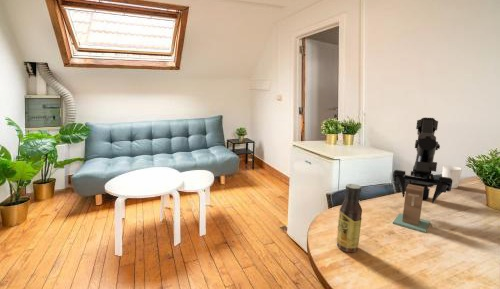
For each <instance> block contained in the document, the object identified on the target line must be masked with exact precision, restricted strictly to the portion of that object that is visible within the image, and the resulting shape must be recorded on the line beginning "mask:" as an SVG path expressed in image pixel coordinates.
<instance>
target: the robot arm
mask: <svg viewBox="0 0 500 289" xmlns="http://www.w3.org/2000/svg"><path fill="white" fill-rule="evenodd" d="M438 124H439V120H436V118H433V117H421V119H418V120H416V127H415V130H417V139H415V144H414V149H416V157H415V161H414V165H413V167H412V170H410V174H406V171H405V170H400V169H395V170H394V171H393V173H392V180H393V182H394V183H396V184H397V185H399V187H400V191H401V194H402V198H405V194H406V181H409V184H410V185H416V186H421V187H424V192H423V199H422V201H427V199H429V196H430V192H431V191H430V190H431V189H430V188H432V187H434V185H436V187H435V190H434V193H433V196H432V202H431V203H432V204H434V203H436V200H437V199H438V197H439V196H440V195H441V194H442V193H447V192H451V190H452V188H451V187H452V179H451V178H448V177H442V175H441V176H438V179H436V178H435V176H434V173H435V172H437V169H438V168H437V167H438V162H435V161H434V157H435V154H436V151H439V150H440V148H441V146H440V144H439V141H437V136H436V135H435V133H436V131H438ZM432 172H434V173H432Z"/></svg>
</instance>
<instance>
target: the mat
mask: <svg viewBox="0 0 500 289" xmlns="http://www.w3.org/2000/svg"><path fill="white" fill-rule="evenodd" d="M402 219H403V213H401V212H400V213H398V215H397V216H396V217H395V218H394V220H393V221H392V224H393V225H396V226H400V227H404V228H407V229H411V230H414V231H417V232H420V233H424V234H425V233H426V232H427V230H428V228H429V226H430V223H431V221H430V220H427V219H422V218H420V222H419V225H418V226H417V225H413V224H409V223H405V222H402Z"/></svg>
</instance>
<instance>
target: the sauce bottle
mask: <svg viewBox="0 0 500 289" xmlns="http://www.w3.org/2000/svg"><path fill="white" fill-rule="evenodd" d="M361 191H362V187H361V186H360V185H359V184H356V183H348V184H346V185H345V197H344V200H343V202H342V204H341V206H340V208H339V212H338V222H337V223H338V224H337V233H336V245H337V248H338V249H339V250H341V251H343V252H345V253H354V252H357V251H358V247H359V244H360V235H361V227H362V215H363V209H362V208H363V207H362V206H361V204H360V193H361Z"/></svg>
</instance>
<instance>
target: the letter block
mask: <svg viewBox="0 0 500 289" xmlns="http://www.w3.org/2000/svg"><path fill="white" fill-rule="evenodd" d="M423 192H424V187H421V186H416V185H412V184H410V183H408V184H407V186H405V196H404V203H403V204H404V205H403V212H402V214H403V219H402V222H405V223H409V224H413V225H417V226H418V225H419V222H420V219H421V214H422V207H423V206H422V205H423V200H422V199H423Z"/></svg>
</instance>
